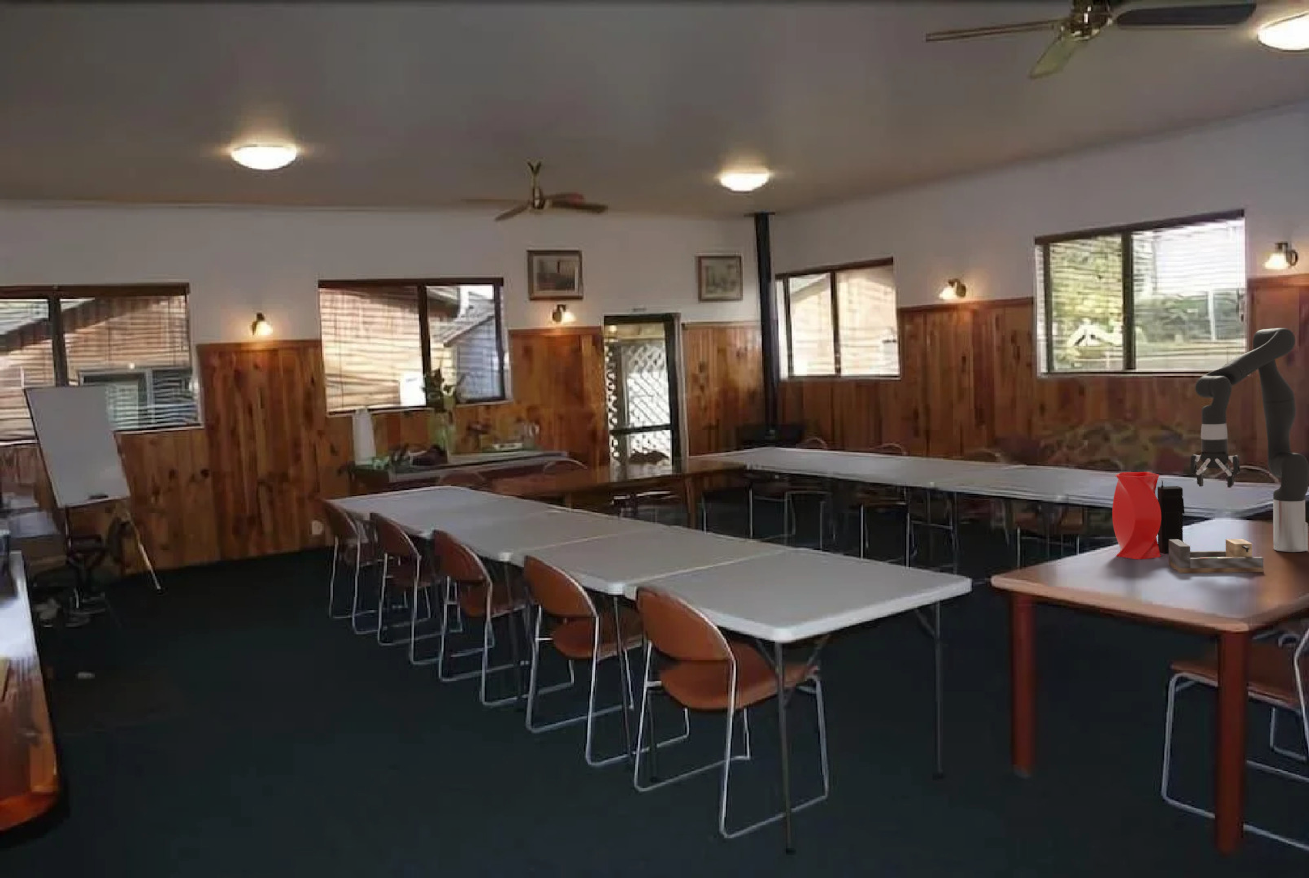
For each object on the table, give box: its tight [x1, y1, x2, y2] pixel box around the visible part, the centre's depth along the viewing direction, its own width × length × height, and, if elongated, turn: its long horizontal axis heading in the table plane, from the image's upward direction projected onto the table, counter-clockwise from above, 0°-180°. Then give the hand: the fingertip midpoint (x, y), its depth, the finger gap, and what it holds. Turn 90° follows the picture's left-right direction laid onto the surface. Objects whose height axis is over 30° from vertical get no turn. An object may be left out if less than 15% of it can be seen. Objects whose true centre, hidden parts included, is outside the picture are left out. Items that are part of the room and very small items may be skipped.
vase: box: [1111, 471, 1162, 560], centre depth 357 cm, size 15×14×28 cm
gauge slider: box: [1225, 538, 1253, 557], centre depth 328 cm, size 5×12×7 cm, turn 169°
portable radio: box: [1157, 480, 1186, 554], centre depth 359 cm, size 8×6×25 cm
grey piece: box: [1168, 539, 1264, 574], centre depth 332 cm, size 24×12×8 cm, turn 79°
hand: (1215, 486), depth 340 cm, fingers open, 8 cm apart
